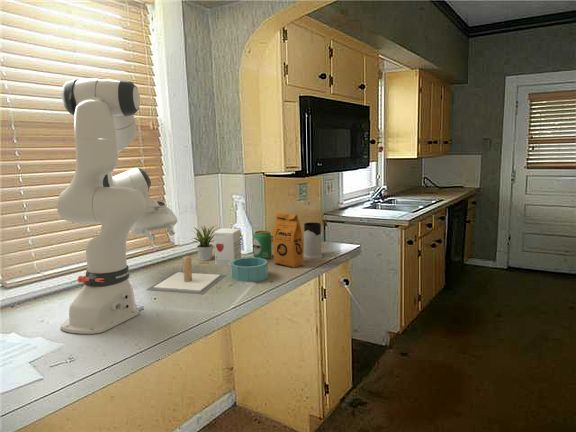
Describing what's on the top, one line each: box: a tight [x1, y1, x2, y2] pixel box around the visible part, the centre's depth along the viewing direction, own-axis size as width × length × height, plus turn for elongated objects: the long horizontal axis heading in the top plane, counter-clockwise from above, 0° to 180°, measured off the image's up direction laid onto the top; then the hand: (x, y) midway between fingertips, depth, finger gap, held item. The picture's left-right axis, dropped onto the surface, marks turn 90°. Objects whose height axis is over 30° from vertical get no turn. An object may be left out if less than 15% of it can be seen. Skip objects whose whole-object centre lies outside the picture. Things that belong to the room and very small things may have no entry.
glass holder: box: [303, 221, 324, 259], centre depth 194 cm, size 9×14×15 cm, turn 147°
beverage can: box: [253, 230, 273, 261], centre depth 190 cm, size 8×8×12 cm
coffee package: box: [272, 212, 304, 269], centre depth 178 cm, size 10×12×22 cm
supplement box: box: [213, 227, 242, 267], centre depth 181 cm, size 9×9×15 cm
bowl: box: [230, 256, 269, 283], centre depth 163 cm, size 14×14×6 cm
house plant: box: [191, 224, 219, 262], centre depth 189 cm, size 14×14×16 cm
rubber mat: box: [145, 271, 227, 295], centre depth 156 cm, size 22×22×1 cm
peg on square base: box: [153, 255, 221, 292], centre depth 155 cm, size 18×18×10 cm
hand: (163, 237), depth 160 cm, fingers open, 8 cm apart
